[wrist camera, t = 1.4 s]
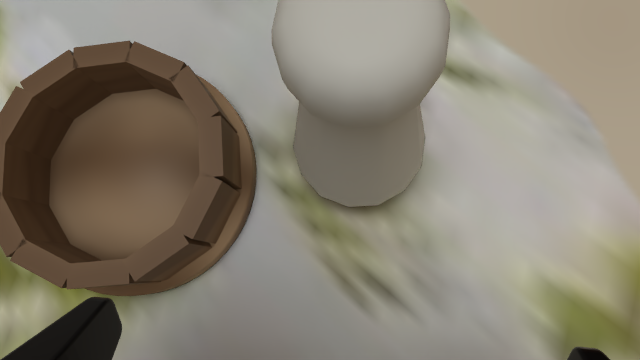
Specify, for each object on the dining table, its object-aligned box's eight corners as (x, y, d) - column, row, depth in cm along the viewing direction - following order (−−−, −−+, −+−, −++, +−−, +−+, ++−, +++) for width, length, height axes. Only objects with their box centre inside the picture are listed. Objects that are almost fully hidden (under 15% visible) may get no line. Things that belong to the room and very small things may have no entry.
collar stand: (263, 284, 22) (240, 286, 18) (32, 304, 23) (-40, 311, 18) (250, 61, 24) (227, 18, 20) (42, 86, 25) (-20, 49, 21)
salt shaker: (282, 187, 23) (185, 78, 10) (327, 86, 24) (289, -132, 11) (393, 232, 22) (439, 175, 9) (435, 125, 23) (531, -62, 10)
